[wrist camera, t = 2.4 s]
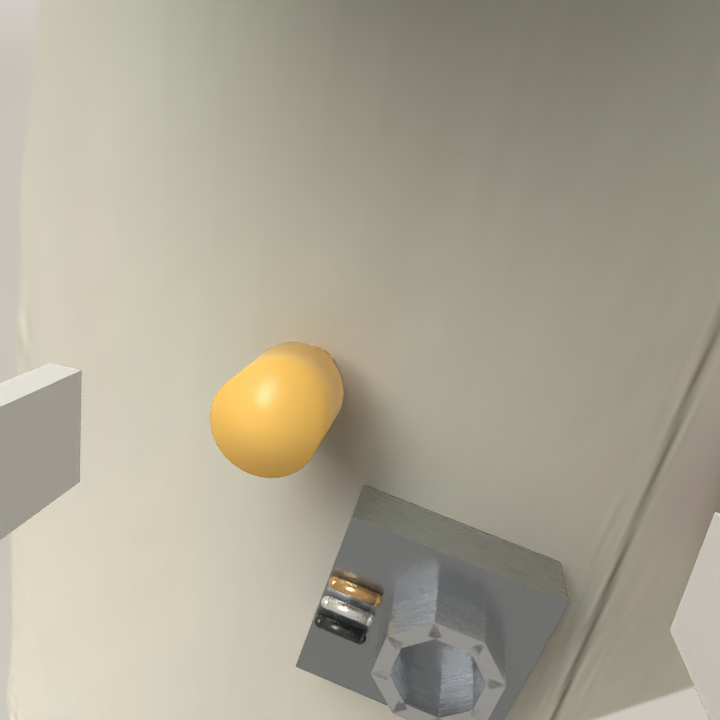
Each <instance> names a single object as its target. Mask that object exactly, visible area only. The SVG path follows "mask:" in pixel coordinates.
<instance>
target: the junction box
mask: <svg viewBox="0 0 720 720" xmlns="http://www.w3.org/2000/svg"><path fill="white" fill-rule="evenodd" d="M568 604H569V601H568V596H567V592H566V587H565V583H564V578H563V574H562V569H561V565H560V562H558V561H556V560H553V559H550V558H548V557H545V556H543V555H540V554H538V553H535V552H533V551H530V550H528V549H525V548H523V547H520V546H518V545H515V544H512V543H510V542H507V541H505V540H502V539H500V538H497V537H495V536H492V535H490V534H487V533H485V532H482V531H479V530H477V529H474V528H472V527H469V526H467V525H464V524H462V523H459V522H457V521H454V520H452V519H449V518H446V517H444V516H441V515H439V514H436V513H434V512H431V511H429V510H426V509H424V508H421V507H419V506H416V505H414V504H411V503H408V502H406V501H403V500H401V499H398V498H396V497H393V496H391V495H388V494H386V493H383V492H381V491H378V490H375V489H373V488H370V487H368V486H365V485H364V486H363V489H362V492H361V494H360V497H359V500H358V502H357V505H356V508H355V510H354V513H353V516H352V518H351V521H350V523H349V526H348V529H347V531H346V534H345V537H344V539H343V542H342V545H341V547H340V550H339V553H338V555H337V558H336V561H335V563H334V566H333V569H332V571H331V574H330V577H329V579H328V582H327V585H326V587H325V590H324V592H323V595H322V598H321V600H320V603H319V606H318V608H317V611H316V614H315V616H314V619H313V622H312V624H311V627H310V630H309V632H308V635H307V638H306V640H305V643H304V646H303V648H302V651H301V654H300V656H299V659H298V662H297V664H296V667H298V668H300V669H303V670H305V671H308V672H310V673H312V674H315V675H317V676H319V677H322V678H324V679H326V680H329V681H331V682H333V683H336V684H338V685H341V686H343V687H345V688H348V689H350V690H352V691H355V692H357V693H359V694H362V695H364V696H366V697H369V698H371V699H374V700H376V701H378V702H381V703H383V704H385V705H388V706H389V707H390V709H391V711H392V713H394V714H396V715H399V716H401V717H404V718H406V719H408V720H504V719H505V717H506V715H507V713H508V712H509V710H510V708H511V706H512V704H513V703H514V701H515V699H516V697H517V695H518V694H519V692H520V690H521V688H522V686H523V685H524V683H525V681H526V679H527V677H528V676H529V674H530V672H531V670H532V668H533V667H534V665H535V663H536V661H537V659H538V658H539V656H540V654H541V652H542V650H543V649H544V647H545V645H546V643H547V641H548V640H549V638H550V636H551V634H552V632H553V631H554V629H555V627H556V625H557V623H558V622H559V620H560V618H561V616H562V614H563V613H564V611H565V609H566V607H567V605H568Z"/></svg>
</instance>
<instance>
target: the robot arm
mask: <svg viewBox="0 0 720 720" xmlns="http://www.w3.org/2000/svg"><path fill="white" fill-rule="evenodd" d="M81 375H82V370H79V369H75V368H70V367H66V366H61V365H57V364H52V363H48V364H46V365H43V366H41V367H38V368H36V369H33V370H31V371H29V372H26V373H24V374H21V375H19V376H16V377H14V378H11V379H9V380H6V381H4V382H1V383H0V540H1V539H2V538H4V537H5V536H6V535H8V534H9V533H10V532H12V531H13V530H15V529H16V528H17V527H19V526H20V525H21V524H23V523H24V522H26V521H27V520H28V519H30V518H31V517H32V516H34V515H35V514H36V513H38V512H39V511H41V510H42V509H43V508H45V507H46V506H47V505H49V504H50V503H51V502H53V501H54V500H56V499H57V498H58V497H60V496H61V495H62V494H64V493H65V492H66V491H68V490H69V489H71V488H72V487H73V486H75V485H76V484H77V483H79V482H80V432H81ZM670 632H671V634H672V637H673V639H674V641H675V643H676V646H677V648H678V650H679V652H680V655H681V657H682V659H683V661H684V664H685V666H686V668H687V670H688V673H689V675H690V677H691V679H692V682H693V684H694V686H695V688H696V691H697V693H698V695H699V697H700V700H701V702H702V704H703V706H704V709H705V711H706V713H707V715H708V718H709V720H720V513H717V512H715V513H714V516H713V518H712V521H711V524H710V526H709V529H708V531H707V534H706V537H705V539H704V542H703V544H702V547H701V550H700V552H699V555H698V557H697V560H696V563H695V565H694V568H693V571H692V573H691V576H690V578H689V581H688V584H687V586H686V589H685V591H684V594H683V597H682V599H681V602H680V604H679V607H678V610H677V612H676V615H675V617H674V620H673V623H672V625H671V628H670Z"/></svg>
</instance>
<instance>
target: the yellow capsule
mask: <svg viewBox="0 0 720 720" xmlns="http://www.w3.org/2000/svg"><path fill="white" fill-rule="evenodd" d="M343 397H344V387H343V382H342V378H341V375H340V373H339V371H338V369H337V366H336V363H335V361H334V360H333V358H332V357H331V356H330V355H329V354H328V353H327V352H326V351H324V350H323V349H321V348H318V347H314V346H310V345H307V344H304V343H298V342H289V343H282V344H279V345H276V346H274V347H272V348H270V349H268V350H267V351H266V352H264V353H263V354H262V355H261V356H259V357H258V358H257V359H256V360H254V361H253V362H252V363H251V364H249V365H248V366H247V367H245V368H244V369H243V370H242V371H240V372H239V373H238V374H237V375H235V376H234V377H233V378H232V379H230V380H229V381H228V382H227V383H225V384H224V385H223V386H222V387H221V389H220V390H219V391H218V393H217V394H216V396H215V398H214V401H213V404H212V407H211V413H210V423H211V429H212V433H213V436H214V439H215V441H216V443H217V445H218V447H219V449H220V450H221V452H222V453H223V454H224V455H225V457H226V458H227V459H228V460H229V461H230V462H231V463H233V464H234V465H235V466H237V467H238V468H240V469H241V470H243V471H245V472H247V473H249V474H252V475H255V476H259V477H265V478H278V477H284V476H287V475H290V474H292V473H295V472H297V471H298V470H300V469H301V468H302V467H304V466H305V465H306V464H307V463H308V461H309V460H310V459H311V458H312V456H313V454H314V453H315V451H316V449H317V448H318V446H319V444H320V443H321V441H322V439H323V438H324V436H325V434H326V433H327V431H328V430H329V428H330V426H331V425H332V423H333V421H334V420H335V418H336V416H337V415H338V413H339V411H340V409H341V406H342V403H343Z"/></svg>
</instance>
